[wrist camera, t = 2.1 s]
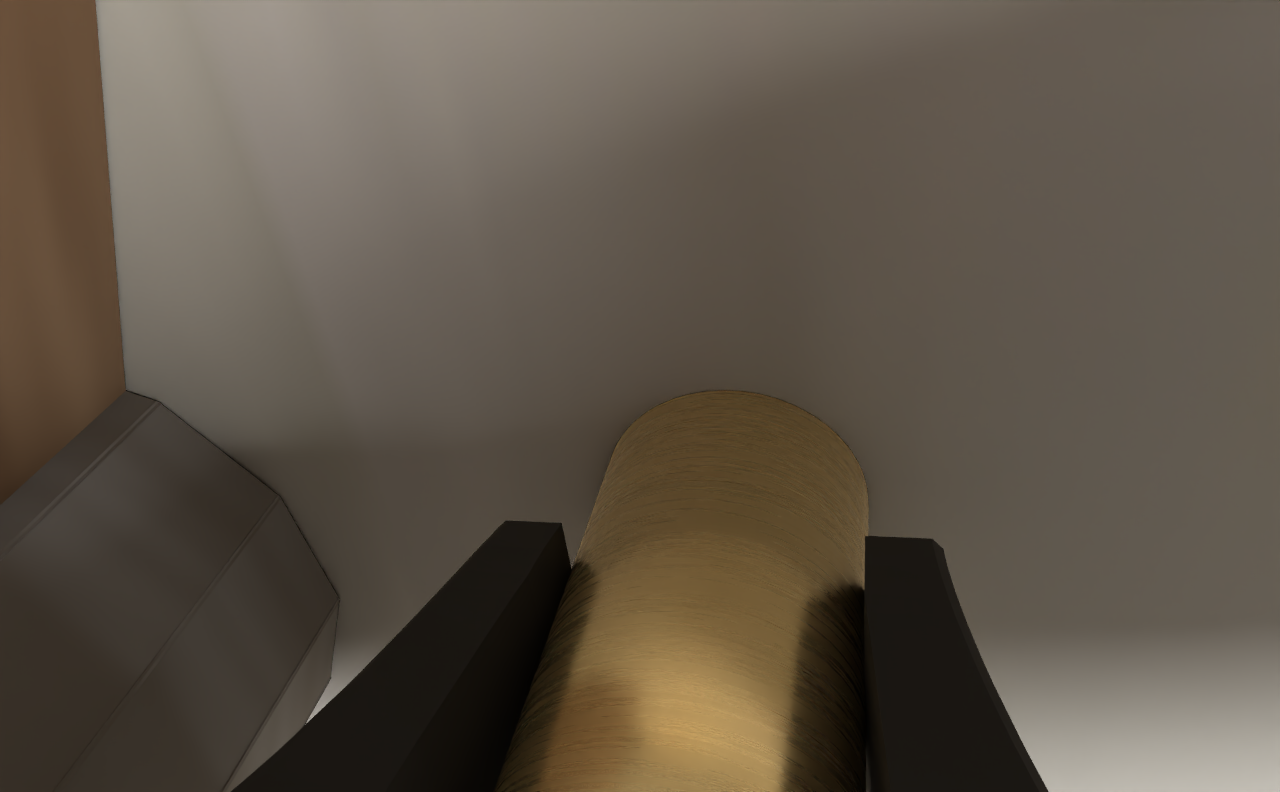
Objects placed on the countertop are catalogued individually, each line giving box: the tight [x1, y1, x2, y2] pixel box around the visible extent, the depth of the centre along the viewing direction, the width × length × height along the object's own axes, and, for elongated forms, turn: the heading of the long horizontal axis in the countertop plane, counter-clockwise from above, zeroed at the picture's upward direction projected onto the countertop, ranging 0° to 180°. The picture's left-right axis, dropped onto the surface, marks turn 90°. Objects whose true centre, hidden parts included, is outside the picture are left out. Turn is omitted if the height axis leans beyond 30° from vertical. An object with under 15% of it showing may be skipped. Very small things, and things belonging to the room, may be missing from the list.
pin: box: [494, 390, 868, 792], centre depth 8 cm, size 3×3×7 cm
